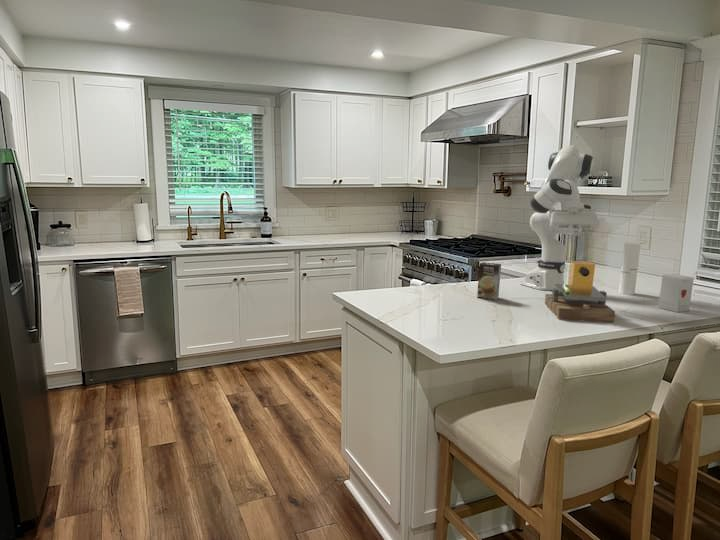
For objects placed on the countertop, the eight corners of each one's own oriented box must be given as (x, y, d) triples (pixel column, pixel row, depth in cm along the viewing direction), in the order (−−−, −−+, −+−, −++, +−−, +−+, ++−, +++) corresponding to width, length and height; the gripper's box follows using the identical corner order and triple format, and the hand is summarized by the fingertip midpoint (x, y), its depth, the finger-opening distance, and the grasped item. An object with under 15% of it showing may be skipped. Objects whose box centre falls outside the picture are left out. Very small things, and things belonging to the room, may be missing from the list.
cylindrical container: (636, 295, 261) (642, 244, 257) (620, 294, 262) (626, 244, 258) (632, 292, 268) (638, 242, 264) (616, 291, 269) (622, 242, 265)
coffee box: (476, 297, 246) (478, 263, 244) (479, 295, 252) (481, 261, 249) (496, 300, 243) (498, 265, 240) (499, 297, 248) (501, 263, 246)
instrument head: (554, 287, 232) (557, 257, 229) (592, 289, 230) (596, 258, 227) (564, 299, 215) (568, 266, 212) (605, 301, 213) (610, 268, 210)
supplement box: (677, 312, 228) (681, 278, 226) (657, 307, 236) (661, 274, 234) (689, 310, 233) (694, 277, 230) (670, 306, 240) (674, 273, 238)
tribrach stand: (544, 303, 238) (546, 283, 236) (593, 306, 235) (596, 285, 234) (558, 319, 213) (560, 296, 211) (613, 322, 210) (616, 298, 208)
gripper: (549, 205, 240) (553, 229, 232) (596, 206, 238) (602, 230, 230) (546, 214, 245) (550, 238, 238) (592, 215, 243) (597, 239, 235)
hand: (576, 234), depth 234 cm, fingers closed
